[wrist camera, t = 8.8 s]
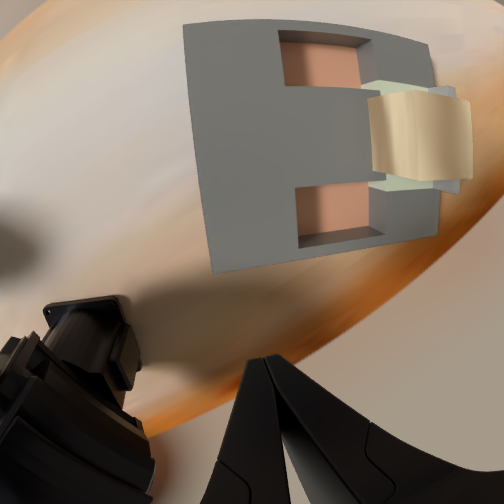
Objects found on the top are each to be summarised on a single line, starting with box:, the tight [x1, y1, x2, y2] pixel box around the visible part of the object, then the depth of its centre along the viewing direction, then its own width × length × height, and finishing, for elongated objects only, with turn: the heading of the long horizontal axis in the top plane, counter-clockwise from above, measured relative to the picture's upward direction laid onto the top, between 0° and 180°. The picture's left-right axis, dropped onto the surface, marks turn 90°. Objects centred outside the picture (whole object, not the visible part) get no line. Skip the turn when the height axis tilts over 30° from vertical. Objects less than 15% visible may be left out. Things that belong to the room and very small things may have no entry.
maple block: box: [367, 90, 473, 181], centre depth 14 cm, size 4×4×4 cm
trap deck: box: [183, 19, 460, 274], centre depth 15 cm, size 16×14×4 cm
